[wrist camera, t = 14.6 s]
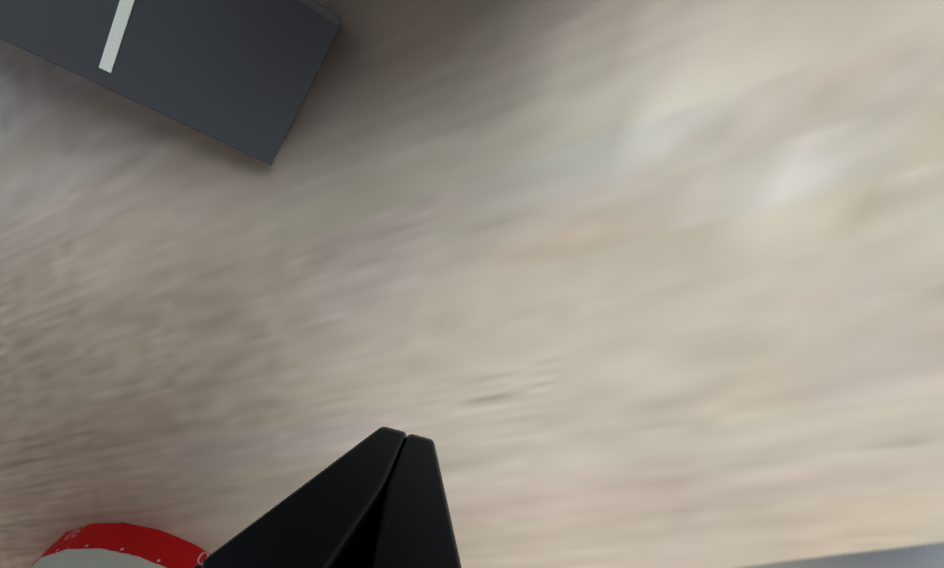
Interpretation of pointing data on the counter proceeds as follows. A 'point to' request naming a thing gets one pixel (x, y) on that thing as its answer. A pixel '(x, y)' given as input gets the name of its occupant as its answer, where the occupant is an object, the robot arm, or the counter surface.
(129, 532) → the grey chicken figure
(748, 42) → the counter surface
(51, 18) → the domino
